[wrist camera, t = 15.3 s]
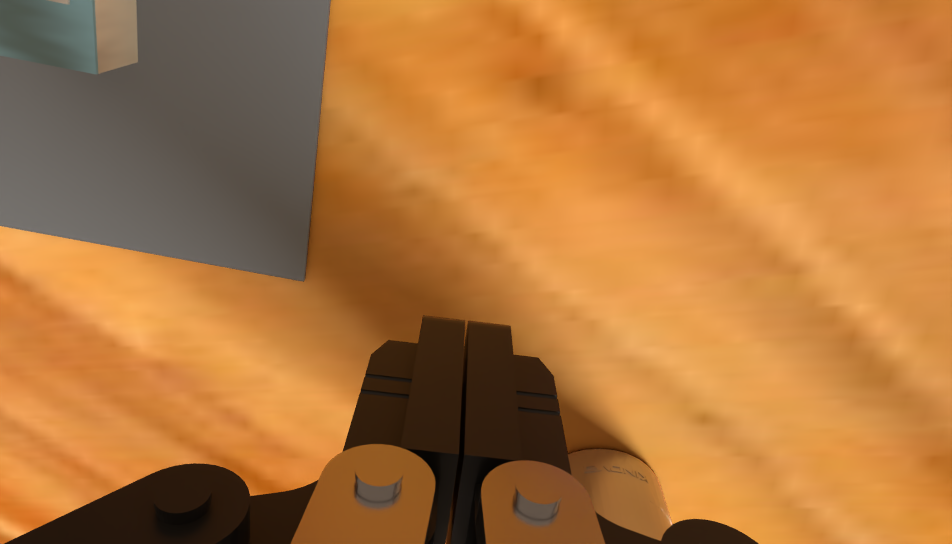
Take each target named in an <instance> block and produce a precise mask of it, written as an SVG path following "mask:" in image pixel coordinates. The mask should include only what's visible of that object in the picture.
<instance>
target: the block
mask: <svg viewBox="0 0 952 544" xmlns="http://www.w3.org/2000/svg"><path fill="white" fill-rule="evenodd" d="M0 56H4V57H10V58H15V59H20V60H25V61H30V62H35V63H40V64H45V65H50V66H55V67H60V68H65V69H71V70H76V71H81V72H86V73H91V74H100V73H103V72H106V71H110V70H113V69H116V68H120V67H123V66H127V65H130V64H133V63H137V62H138V44H137V6H136V0H0Z"/></svg>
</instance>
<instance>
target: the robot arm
mask: <svg viewBox="0 0 952 544" xmlns="http://www.w3.org/2000/svg"><path fill="white" fill-rule="evenodd" d="M464 333H465V320H457V319H449V318H440V317H432V316H424V315H423V319H422V325H421V331H420V336H419V342H418V344H417V343H408V342H400V341H391V340H388V341H387V342H386V343H384V344H383V345H382V346H381V347H380V348H379V349H377V350H376V351H375V352H374V353H373V354H371V357H370V360H369V364H368V367H367V371H366V375H365V377H364V381H363V384H362V388H361V393H360V394H359V398H358V401H357V405H356V408H355V412H354V415H353V418H352V422H351V425H350V429H349V432H348V435H347V439H346V442H345V446H344V449H343V452H342V453H340V454H338V455H337V456H335V457H334V458H333V459H331V460H330V462H329V463H328V464H327V465H326V466H325V468H324V470H323V471H322V474H321V476H320V478H319V480H317V481H315V482H314V483H311V484H309V485H307V486H304V487H301V488H298V489H294V490H290V491H285V492H278V493H271V494H263V495H256V496H250V494H249V490H248V487H247V485H246V484H245V482H244V481H243V480H242V479H241V478H240V477H239V476H238V475H237V474H235V473H234V472H232V471H230V470H228V469H226V468H223V467H219V466H216V465H210V464H183V465H178V466H173V467H169V468H166V469H162V470H160V471H157V472H155V473H152V474H150V475H148V476H146V477H144V478H142V479H140V480H137V481H135V482H133V483H131V484H129V485H127V486H125V487H123V488H121V489H118V490H116V491H114V492H112V493H110V494H108V495H106V496H104V497H102V498H99V499H97V500H95V501H93V502H91V503H89V504H87V505H85V506H83V507H80V508H78V509H76V510H74V511H72V512H70V513H68V514H66V515H64V516H62V517H59V518H57V519H55V520H53V521H51V522H49V523H47V524H45V525H43V526H40V527H38V528H36V529H34V530H32V531H30V532H28V533H26V534H24V535H21V536H19V537H17V538H15V539H13V540H11V541H9V542H7V543H5V544H445V543H446V544H758V543H757V542H756V541H754V540H753V539H751V538H750V537H748V536H747V535H745V534H744V533H742V532H740V531H738V530H736V529H734V528H732V527H729V526H727V525H724V524H721V523H718V522H715V521H709V520H703V519H689V520H683V521H679V522H677V523H675V524H672V521H671V518H670V515H669V511H668V508H667V505H666V502H665V498H664V495H663V492H662V488H661V485H660V483H659V481H658V479H657V476H656V475H655V474H654V472H653V471H652V470H651V469H650V467H649V466H647V465H646V464H645V463H643V462H642V461H641V460H640V459H638V458H636V457H634V456H631V455H629V454H627V453H624V452H620V451H616V450H610V449H587V450H582V451H578V452H574V453H570V454H568V452H567V447H566V442H565V436H564V431H563V425H562V420H561V416H560V409H559V403H558V399H557V393H556V387H555V382H554V376H553V375H552V374H551V372H550V371H549V370H548V369H547V368H546V366H545V365H544V364H543V363H542V362H541V361H540V359H539V358H536V357H528V356H519V355H513V347H512V335H511V327H510V326H508V325H500V324H491V323H483V322H475V321H468V325H467V331H466V337H465V344H464ZM446 536H447V537H446Z"/></svg>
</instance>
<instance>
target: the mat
mask: <svg viewBox="0 0 952 544" xmlns="http://www.w3.org/2000/svg"><path fill="white" fill-rule="evenodd" d="M330 2H331V0H136V6H137V44H138V62H137V63H133V64H130V65H127V66H123V67H120V68H116V69H113V70H110V71H106V72H103V73H100V74H91V73H86V72H81V71H76V70H71V69H65V68H60V67H55V66H50V65H45V64H40V63H35V62H30V61H25V60H20V59H15V58H10V57H4V56H0V226H4V227H9V228H15V229H20V230H25V231H31V232H36V233H42V234H47V235H53V236H58V237H64V238H69V239H74V240H80V241H85V242H91V243H96V244H102V245H107V246H113V247H118V248H123V249H129V250H134V251H140V252H145V253H151V254H156V255H162V256H167V257H172V258H178V259H183V260H189V261H194V262H200V263H205V264H210V265H216V266H221V267H227V268H232V269H238V270H243V271H249V272H254V273H259V274H265V275H270V276H276V277H281V278H287V279H292V280H298V281H303V282H304V280H305V275H306V264H307V253H308V242H309V232H310V221H311V210H312V199H313V188H314V177H315V166H316V155H317V144H318V133H319V122H320V111H321V101H322V90H323V79H324V68H325V57H326V46H327V35H328V24H329V13H330Z"/></svg>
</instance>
